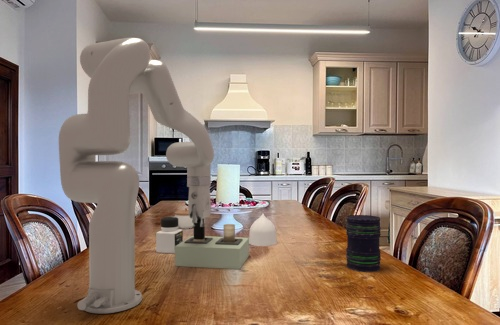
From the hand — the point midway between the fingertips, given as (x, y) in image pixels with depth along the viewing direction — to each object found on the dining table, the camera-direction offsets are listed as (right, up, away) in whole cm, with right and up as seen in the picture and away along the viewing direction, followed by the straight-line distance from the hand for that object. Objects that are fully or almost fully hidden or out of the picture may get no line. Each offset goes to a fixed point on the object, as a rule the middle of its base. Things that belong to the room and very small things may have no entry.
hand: (199, 238), depth 118 cm
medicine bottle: (-12, -7, +12) cm, 18 cm away
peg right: (+10, -2, -2) cm, 10 cm away
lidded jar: (-14, -7, +58) cm, 60 cm away
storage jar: (+50, -7, -9) cm, 51 cm away
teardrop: (+21, -7, +25) cm, 33 cm away
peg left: (0, -7, 0) cm, 7 cm away
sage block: (+5, -7, -1) cm, 8 cm away
